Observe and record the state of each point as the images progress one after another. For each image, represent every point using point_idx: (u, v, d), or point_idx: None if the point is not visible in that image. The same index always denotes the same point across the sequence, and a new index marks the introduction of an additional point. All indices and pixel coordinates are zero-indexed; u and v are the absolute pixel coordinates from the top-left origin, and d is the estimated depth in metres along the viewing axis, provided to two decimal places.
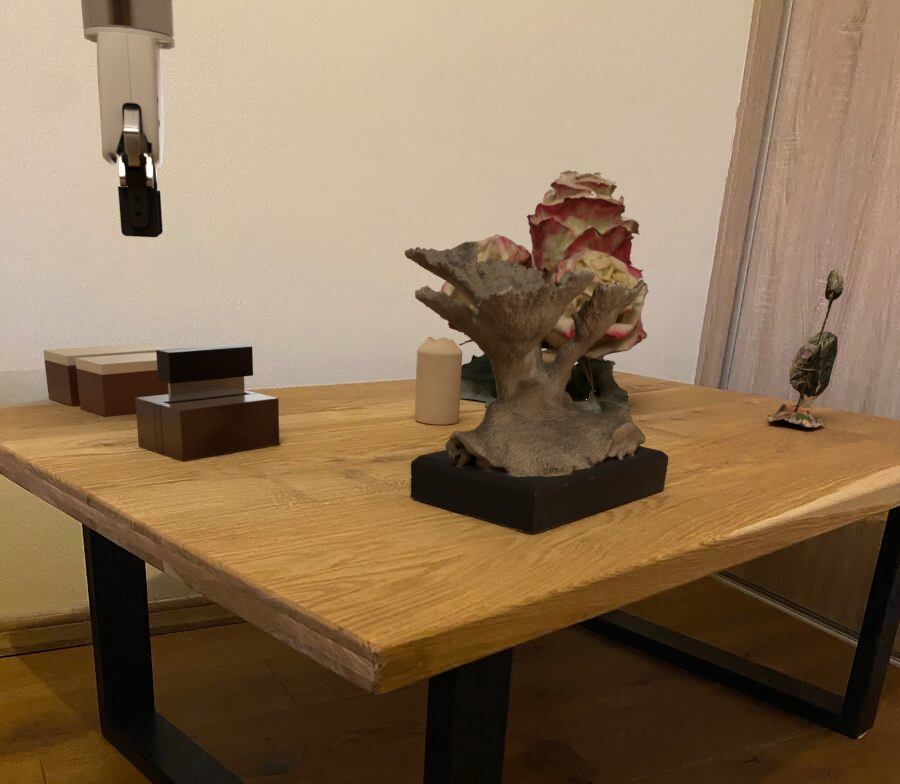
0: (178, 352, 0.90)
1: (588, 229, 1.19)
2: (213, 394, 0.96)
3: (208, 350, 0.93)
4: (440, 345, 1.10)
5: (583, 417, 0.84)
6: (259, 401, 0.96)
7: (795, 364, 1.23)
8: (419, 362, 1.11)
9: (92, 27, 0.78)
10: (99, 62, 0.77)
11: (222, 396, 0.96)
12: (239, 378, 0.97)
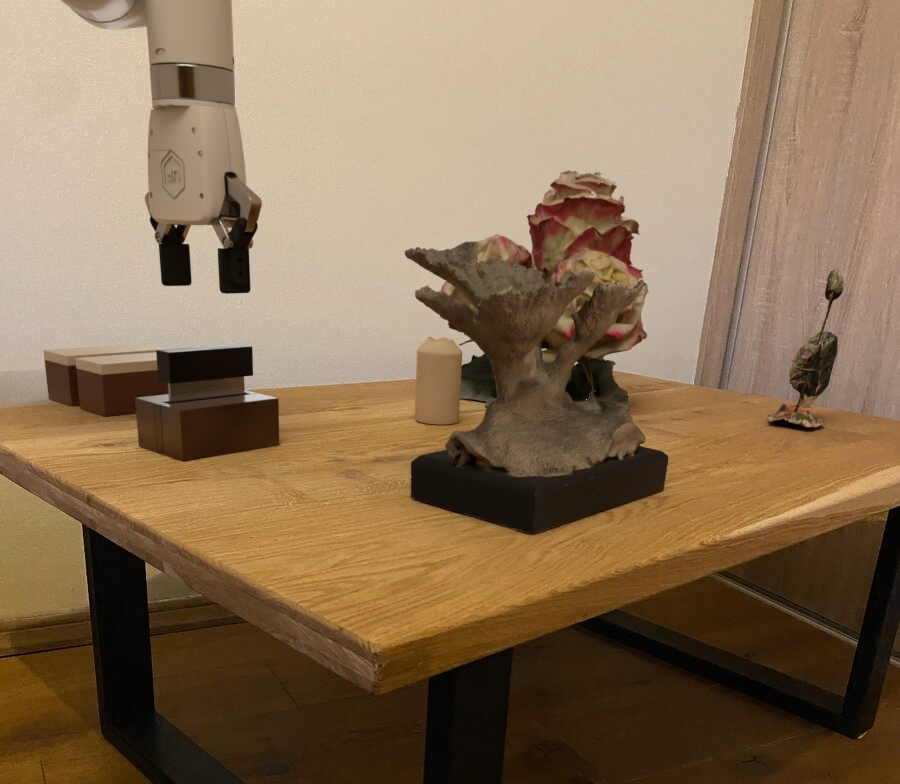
0: (178, 352, 0.90)
1: (588, 229, 1.19)
2: (213, 394, 0.96)
3: (208, 350, 0.93)
4: (440, 345, 1.10)
5: (583, 417, 0.84)
6: (259, 401, 0.96)
7: (795, 364, 1.23)
8: (419, 362, 1.11)
9: (182, 99, 0.82)
10: (202, 134, 0.82)
11: (222, 396, 0.96)
12: (239, 378, 0.97)
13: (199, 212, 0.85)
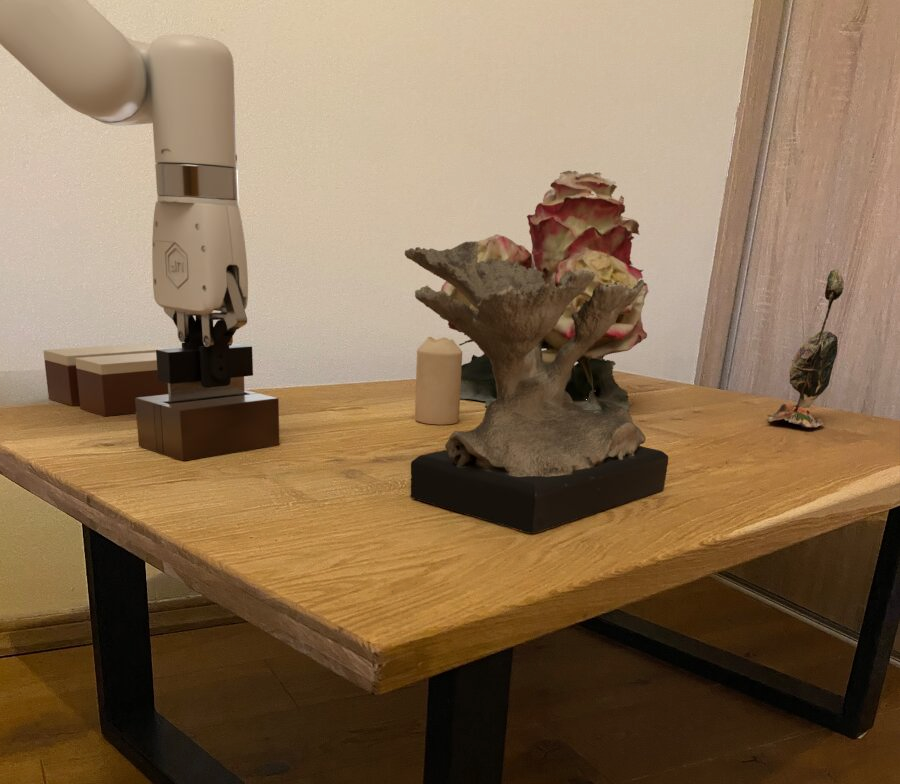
0: (178, 352, 0.90)
1: (588, 229, 1.19)
2: (213, 394, 0.96)
3: None
4: (440, 345, 1.10)
5: (583, 417, 0.84)
6: (259, 401, 0.96)
7: (795, 364, 1.23)
8: (419, 362, 1.11)
9: (186, 197, 0.85)
10: (205, 231, 0.85)
11: (222, 396, 0.96)
12: (239, 378, 0.97)
13: (202, 303, 0.88)
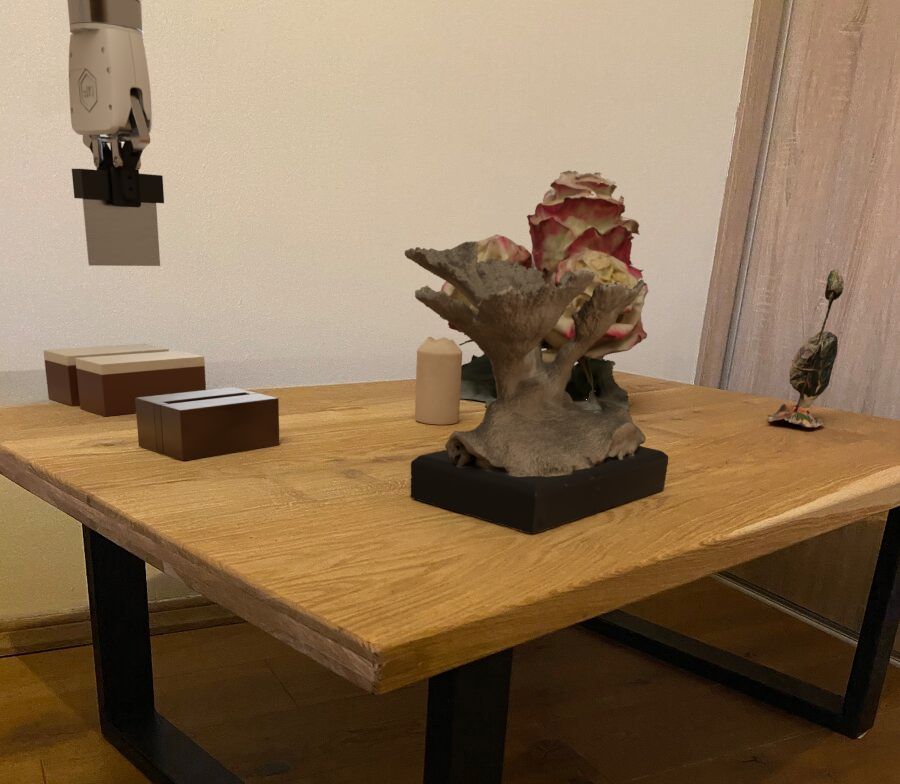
0: (90, 170, 1.02)
1: (588, 229, 1.19)
2: (126, 216, 1.07)
3: None
4: (440, 345, 1.10)
5: (583, 417, 0.84)
6: (259, 401, 0.96)
7: (795, 364, 1.23)
8: (419, 362, 1.11)
9: (93, 23, 0.96)
10: (109, 53, 0.96)
11: (135, 220, 1.08)
12: (151, 205, 1.09)
13: (109, 121, 0.99)
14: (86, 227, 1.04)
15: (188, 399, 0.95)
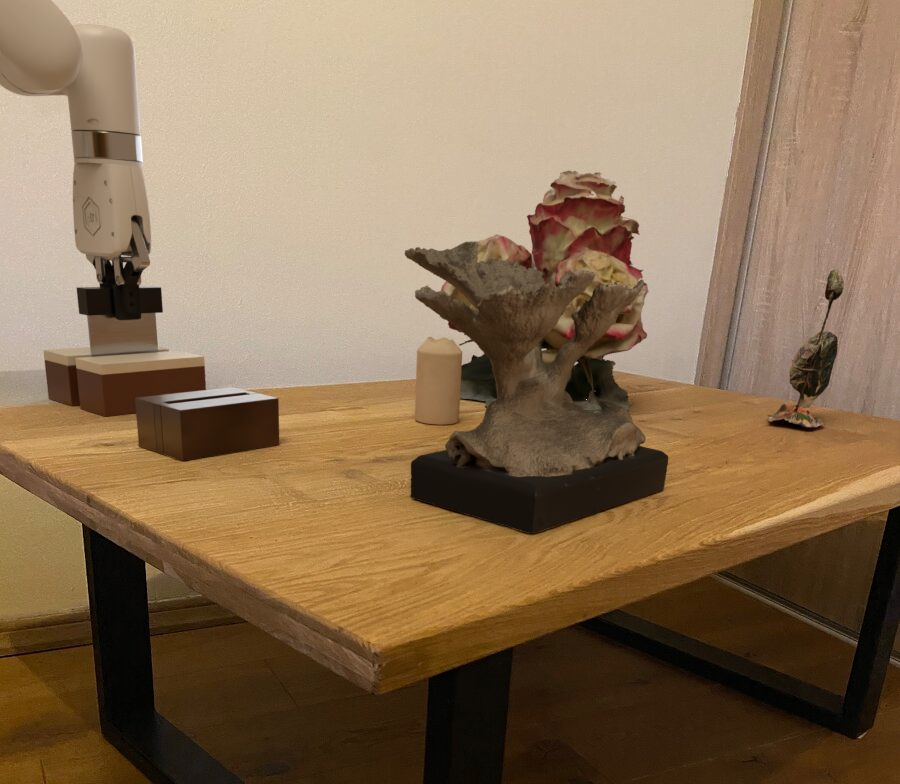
0: (94, 289, 1.09)
1: (588, 229, 1.19)
2: (128, 327, 1.14)
3: None
4: (440, 345, 1.10)
5: (583, 417, 0.84)
6: (259, 401, 0.96)
7: (795, 364, 1.23)
8: (419, 362, 1.11)
9: (96, 158, 1.03)
10: (112, 186, 1.04)
11: (136, 329, 1.15)
12: (151, 314, 1.16)
13: (111, 247, 1.06)
14: (90, 340, 1.11)
15: (188, 399, 0.95)
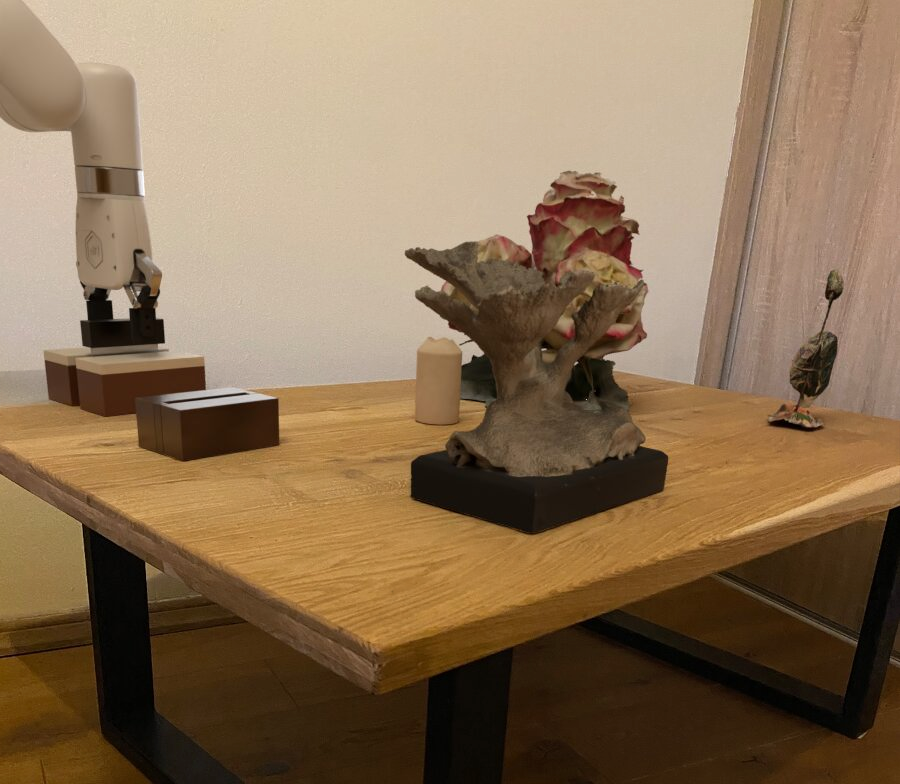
0: (98, 322, 1.10)
1: (588, 229, 1.19)
2: None
3: (124, 321, 1.13)
4: (440, 345, 1.10)
5: (583, 417, 0.84)
6: (259, 401, 0.96)
7: (795, 364, 1.23)
8: (419, 362, 1.11)
9: (99, 193, 1.05)
10: (114, 221, 1.05)
11: None
12: (153, 345, 1.17)
13: (113, 280, 1.07)
14: None
15: (188, 399, 0.95)
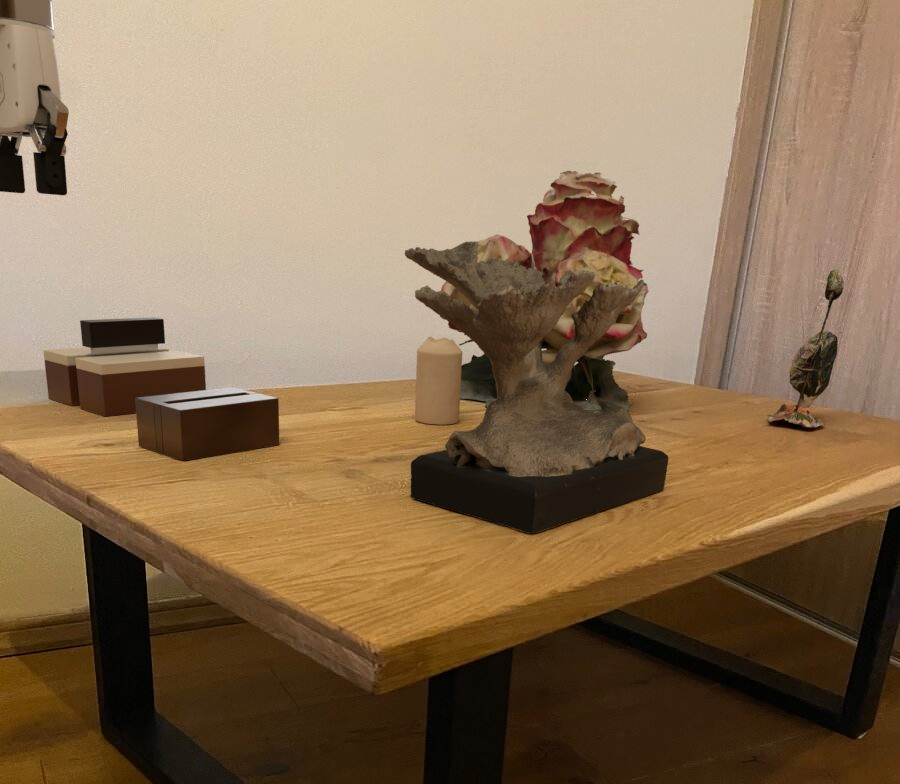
0: (98, 322, 1.10)
1: (588, 229, 1.19)
2: None
3: (124, 321, 1.13)
4: (440, 345, 1.10)
5: (583, 417, 0.84)
6: (259, 401, 0.96)
7: (795, 364, 1.23)
8: (419, 362, 1.11)
9: None
10: (15, 49, 0.95)
11: None
12: (153, 345, 1.17)
13: (15, 119, 0.97)
14: None
15: (188, 399, 0.95)
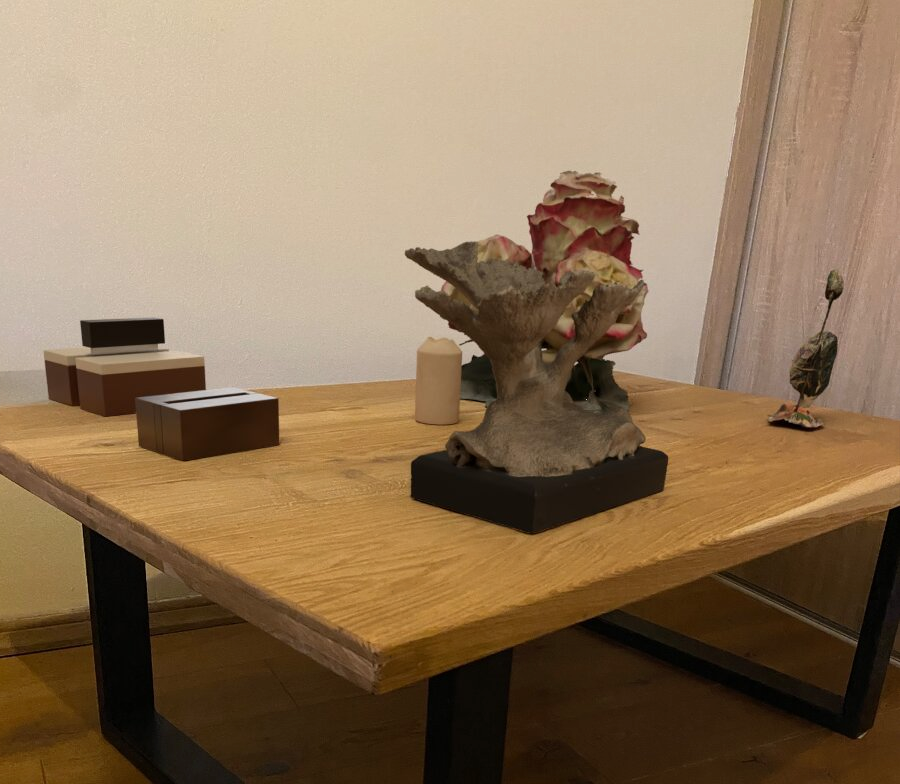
0: (98, 322, 1.10)
1: (588, 229, 1.19)
2: None
3: (124, 321, 1.13)
4: (440, 345, 1.10)
5: (583, 417, 0.84)
6: (259, 401, 0.96)
7: (795, 364, 1.23)
8: (419, 362, 1.11)
9: None
10: None
11: None
12: (153, 345, 1.17)
13: None
14: None
15: (188, 399, 0.95)
